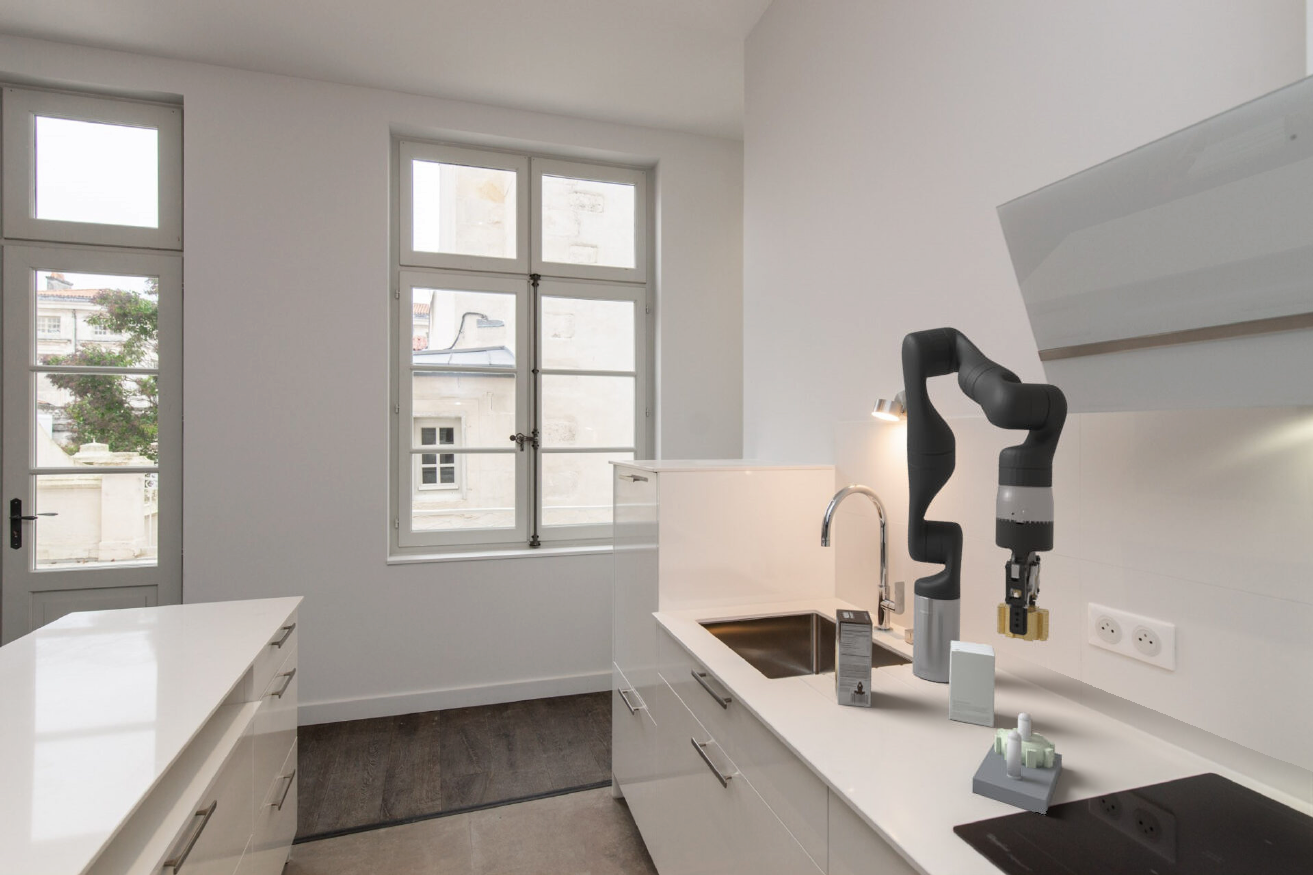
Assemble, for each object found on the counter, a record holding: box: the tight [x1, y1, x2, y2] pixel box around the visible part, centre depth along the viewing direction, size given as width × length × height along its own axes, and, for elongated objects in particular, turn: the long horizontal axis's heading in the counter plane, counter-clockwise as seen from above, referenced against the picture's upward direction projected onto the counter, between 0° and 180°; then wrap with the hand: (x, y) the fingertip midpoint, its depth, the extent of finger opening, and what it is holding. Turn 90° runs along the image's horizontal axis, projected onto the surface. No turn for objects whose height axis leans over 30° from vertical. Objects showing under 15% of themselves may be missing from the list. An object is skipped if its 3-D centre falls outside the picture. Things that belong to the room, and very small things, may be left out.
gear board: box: [971, 712, 1063, 815], centre depth 96 cm, size 17×9×8 cm, turn 142°
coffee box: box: [834, 608, 874, 708], centre depth 127 cm, size 9×6×16 cm
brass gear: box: [996, 602, 1050, 642], centre depth 96 cm, size 6×6×4 cm
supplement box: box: [948, 640, 996, 728], centre depth 119 cm, size 7×7×13 cm
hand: (1022, 628), depth 96 cm, fingers closed on brass gear, 6 cm apart
